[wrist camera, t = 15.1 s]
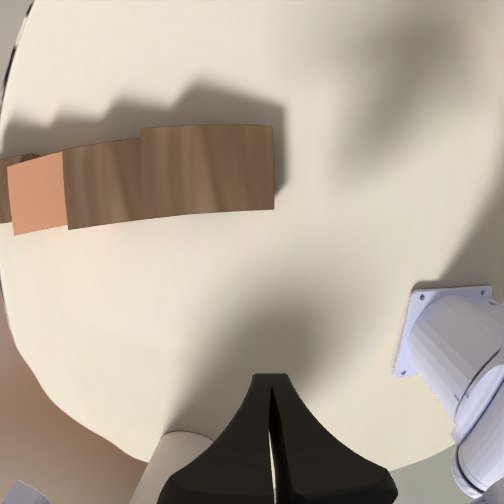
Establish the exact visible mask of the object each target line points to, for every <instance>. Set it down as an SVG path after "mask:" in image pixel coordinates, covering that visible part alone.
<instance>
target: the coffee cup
mask: <svg viewBox="0 0 504 504" xmlns="http://www.w3.org/2000/svg"><path fill="white" fill-rule="evenodd" d="M212 443H213V441H212V440H210V439H208V438H206V437H204V436H202V435H199V434H196V433H192V432H185V431H176V432H170V433H167V434H165V435H164V436H163V437H162V438H161V439H160V441H159V443H158V445H157V447H156V449H155V452H154V454H153V456H152V458H151V460H150V462H149V464H148V466H147V468H146V470H145V472H144V474H143V476H142V478H141V480H140V483H139V484H138V486H137V489H136V491H135V493H134V495H133V497H132V499H131V501H130V503H129V504H157V500H158V497H159V494H160V492H161V490H162V488H163V486H164V484H165V483H166V481H167V480H168V478H169V476H170V475H172V474H174V473H175V472H177V471H178V470H180V469H181V468H183V467H184V466H186V465H187V464H189V463H190V462H191V461H193V460H194V459H195V458H196V457H198V456H199V455H200V454H201V453H202V452H204V451H205V450H206V449H207V448H208V447H209V446H210V445H211V444H212Z"/></svg>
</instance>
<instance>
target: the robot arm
mask: <svg viewBox="0 0 504 504" xmlns="http://www.w3.org/2000/svg"><path fill="white" fill-rule="evenodd" d="M481 291H482V292H481ZM492 292H493V288H492V287H491V286H489V285H487V286H473V287H458V288H441V289H421V290H414V291H413V292H412V293H411V295H410V299H409V305H408V310H407V315H406V319H405V324H404V328H403V333H402V337H401V341H400V345H399V349H398V353H397V357H396V361H395V364H394V368H393V371H392V375H393V376H394V377H395V378H400V377H406V376H412V375H418V374H419V375H420V376H421V377H422V379H423V380H424V381H425V383H426V384H427V386H428V387H429V388H430V390H431V391H432V392H433V394H434V395H435V397H436V398H437V399H438V401H439V402H440V404H441V405H442V406H443V408H444V409H445V411H446V412H447V413H448V415H449V416H450V418H451V419H452V421H453V422H454V424H455V428H454V430H453V431H452V433H451V436H452V438H453V439H454V441H455V443H456V444H457V446H456V447H455V449H454V450H453V453H452V455H451V470H452V473H453V476H454V478H455V480H456V482H457V484H458V486H459V487H460V488H461V489H462V491H464V492H465V493H466V494H467V495H468V496H470V497H472V498H474V500H473V501H470V502H469V503H467V504H504V305H502V304H501V303H499V302H497V301H496V300H494V299H492V298H491V297H492ZM422 294H423V296H422V298H420V296H421V295H422ZM402 371H404V372H402ZM401 372H402V373H401ZM269 433H270V440H271V448H272V455H273V462H274V469H275V484H276V504H393V502H394V500H395V499H396V498H397V496H398V490H397V488H396V485H395V482H394V481H393V479H392V477H391V475H390V474H389V472H388V470H387V469H386V468H383V467H381V466H379V465H377V464H375V463H373V462H371V461H369V460H367V459H365V458H363V457H361V456H360V455H358V454H356V453H355V452H353V451H352V450H351V449H349V448H348V447H346V446H345V445H344V444H342V443H341V442H340V441H338V440H337V439H336V438H335V437H334V436H333V435H332V434H330V433H329V432H328V431H327V430H326V429H325V428H324V427H323V426H322V425H321V424H320V423H319V422H318V420H317V419H316V418H315V417H314V416H313V415H312V413H311V412H310V411H309V410H308V408H307V407H306V405H305V404H304V403H303V401H302V400H301V398H300V397H299V395H298V394H297V392H296V390H295V389H294V387H293V385H292V383H291V381H290V379H289V377H288V375H287V374H254V375H253V378H252V382H251V385H250V388H249V390H248V393H247V395H246V397H245V399H244V401H243V403H242V405H241V406H240V408H239V410H238V411H237V413H236V414H235V416H234V418H233V419H232V420H231V422H230V423H229V425H228V426H227V427H226V428H225V430H224V431H223V432H222V433H221V435H220V436H219V437H218V438H217V439H216V440H215V441H214V442H213V443H212V444H211V445H210V446H209V447H208V448H207V449H206V450H205V451H204V452H202V453H201V454H200V455H199V456H198V457H196V458H195V459H194V460H193V461H191V462H190V463H189V464H187V465H186V466H184V467H183V468H181V469H180V470H178V471H177V472H175V473H174V474H172V475H170V476H169V478H168V480H167V481H166V483H165V484H164V486H163V488H162V490H161V492H160V494H159V497H158V500H157V504H274V490H273V481H272V471H271V458H270V445H269ZM2 504H51V502H50V501H49V500H48V499H47V498H46V496H44V495H43V494H42V493H41V492H39V491H38V490H36V489H34V488H32V487H31V486H29V485H27V484H25V483H23V482H22V481H20V480H16V482H15V483H14V485H13V486H12V488H11V489H10V491H9V492H8V494H7V496H6V497H5V499H4V500H3V502H2Z"/></svg>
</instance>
